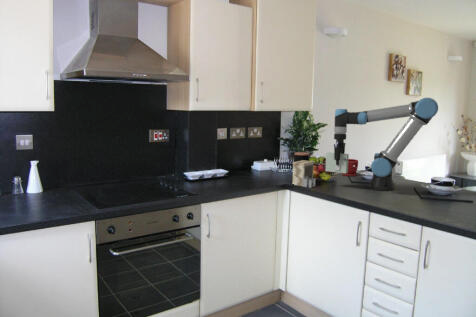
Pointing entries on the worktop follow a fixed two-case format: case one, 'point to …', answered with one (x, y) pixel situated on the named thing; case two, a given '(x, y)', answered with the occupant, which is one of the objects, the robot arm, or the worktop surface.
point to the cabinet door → (332, 163)
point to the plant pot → (351, 167)
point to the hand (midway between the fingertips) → (338, 169)
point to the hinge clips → (308, 182)
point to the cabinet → (302, 171)
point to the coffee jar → (301, 156)
